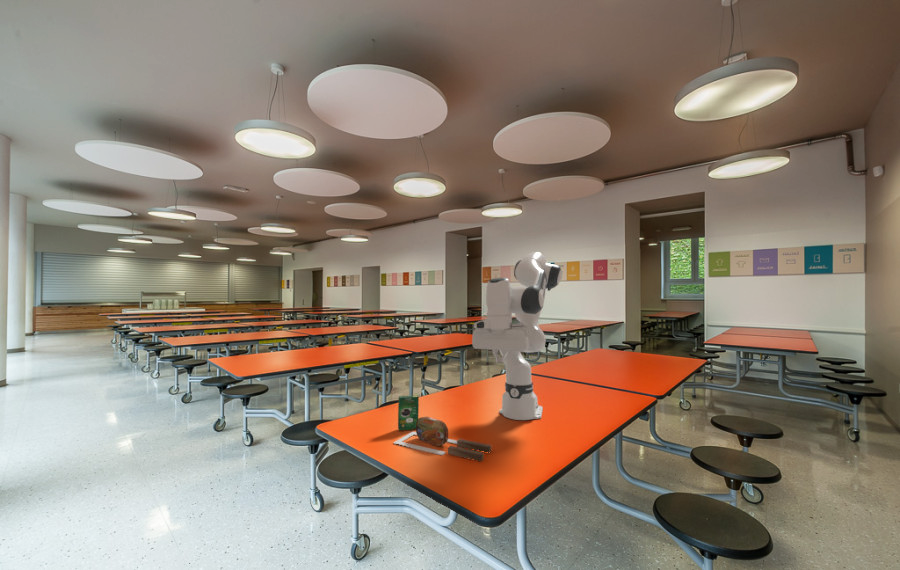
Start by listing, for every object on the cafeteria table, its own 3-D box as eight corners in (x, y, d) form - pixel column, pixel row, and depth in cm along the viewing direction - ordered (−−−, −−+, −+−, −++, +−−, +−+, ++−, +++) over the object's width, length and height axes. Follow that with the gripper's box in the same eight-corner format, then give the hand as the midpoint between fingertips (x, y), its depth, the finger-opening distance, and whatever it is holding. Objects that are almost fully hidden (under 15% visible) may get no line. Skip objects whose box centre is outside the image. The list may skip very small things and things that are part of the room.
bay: (412, 432, 134) (412, 431, 134) (459, 442, 124) (459, 441, 124) (393, 443, 123) (393, 442, 123) (442, 455, 113) (442, 454, 113)
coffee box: (418, 427, 140) (417, 394, 140) (419, 429, 137) (418, 396, 138) (397, 429, 138) (397, 395, 138) (398, 431, 135) (398, 397, 136)
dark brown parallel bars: (459, 444, 122) (459, 438, 122) (491, 451, 116) (491, 445, 116) (447, 454, 114) (447, 447, 114) (481, 461, 109) (480, 455, 109)
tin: (415, 438, 128) (414, 415, 129) (421, 435, 131) (421, 413, 131) (443, 449, 118) (443, 424, 118) (450, 446, 120) (449, 422, 121)
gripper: (530, 323, 120) (532, 363, 119) (477, 322, 130) (478, 359, 129) (525, 324, 114) (526, 366, 114) (469, 323, 124) (470, 362, 124)
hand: (500, 362), depth 121 cm, fingers closed
